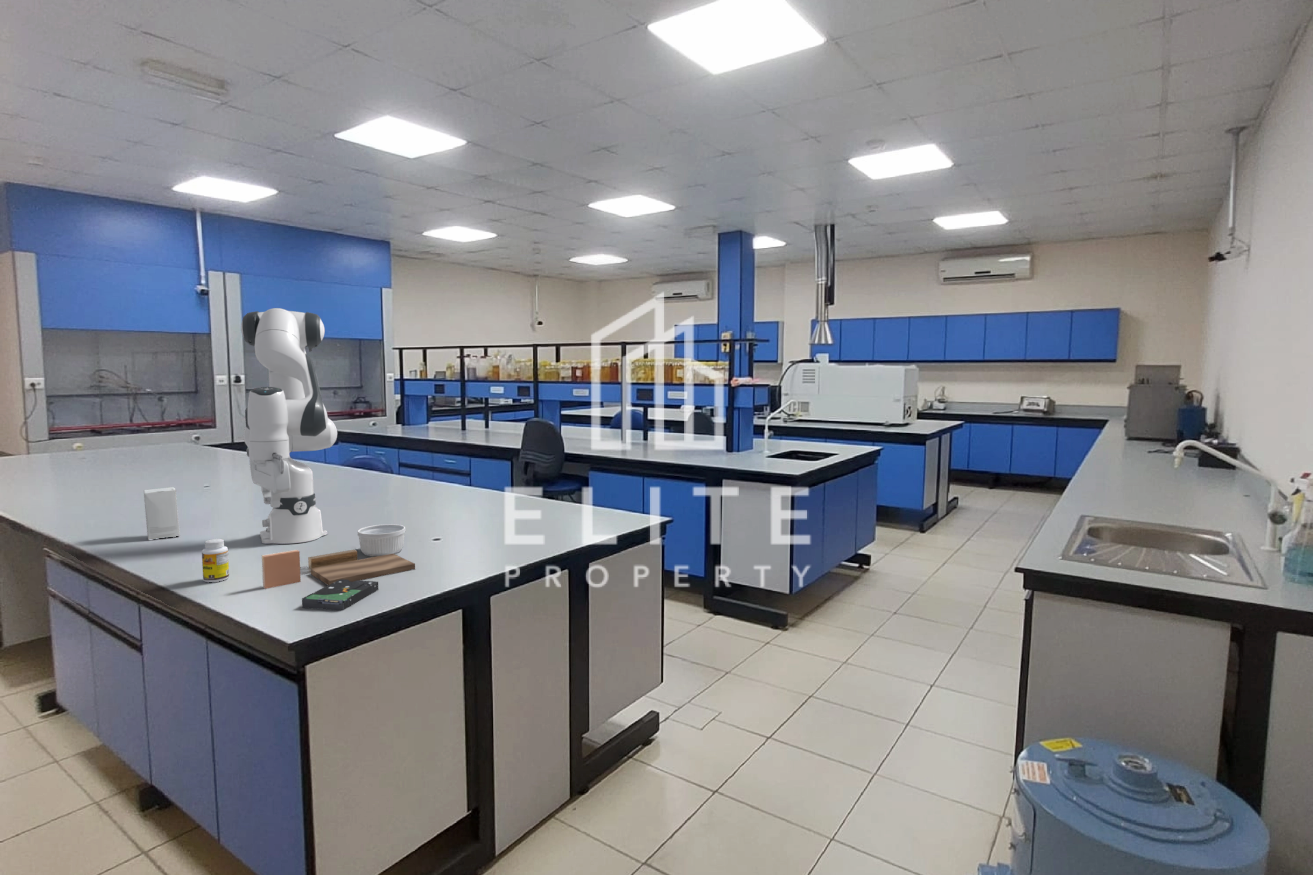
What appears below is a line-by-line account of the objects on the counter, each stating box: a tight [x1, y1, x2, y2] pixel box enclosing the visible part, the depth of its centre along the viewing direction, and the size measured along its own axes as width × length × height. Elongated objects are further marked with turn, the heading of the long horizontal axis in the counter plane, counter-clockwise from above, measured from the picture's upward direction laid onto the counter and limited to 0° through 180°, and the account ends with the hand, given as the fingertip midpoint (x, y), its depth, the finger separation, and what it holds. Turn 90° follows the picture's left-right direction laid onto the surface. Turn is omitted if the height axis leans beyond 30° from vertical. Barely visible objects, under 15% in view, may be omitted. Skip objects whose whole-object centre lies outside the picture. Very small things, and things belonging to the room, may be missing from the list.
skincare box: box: [143, 486, 181, 540], centre depth 211 cm, size 8×7×16 cm
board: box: [310, 553, 416, 586], centre depth 177 cm, size 14×22×2 cm, turn 135°
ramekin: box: [357, 523, 406, 557], centre depth 198 cm, size 13×13×7 cm
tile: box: [261, 549, 302, 590], centre depth 166 cm, size 2×8×8 cm, turn 135°
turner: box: [300, 549, 358, 576], centre depth 179 cm, size 20×6×3 cm, turn 135°
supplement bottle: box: [201, 538, 230, 583], centre depth 169 cm, size 6×6×10 cm
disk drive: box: [301, 579, 379, 611], centre depth 156 cm, size 10×3×15 cm
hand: (271, 505), depth 169 cm, fingers open, 4 cm apart
